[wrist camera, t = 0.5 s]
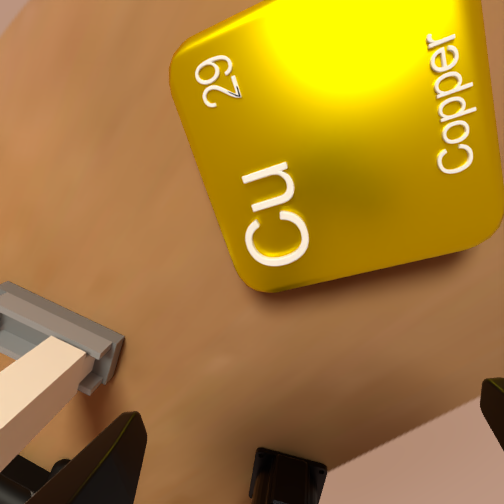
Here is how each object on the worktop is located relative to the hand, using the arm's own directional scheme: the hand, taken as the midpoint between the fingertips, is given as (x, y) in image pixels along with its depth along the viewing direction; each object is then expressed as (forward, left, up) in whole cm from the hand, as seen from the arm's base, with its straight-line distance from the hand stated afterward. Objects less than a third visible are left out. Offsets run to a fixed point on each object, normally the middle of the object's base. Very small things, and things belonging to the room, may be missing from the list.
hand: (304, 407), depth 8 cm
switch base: (-12, +21, -15) cm, 29 cm away
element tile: (+7, 0, -16) cm, 17 cm away
